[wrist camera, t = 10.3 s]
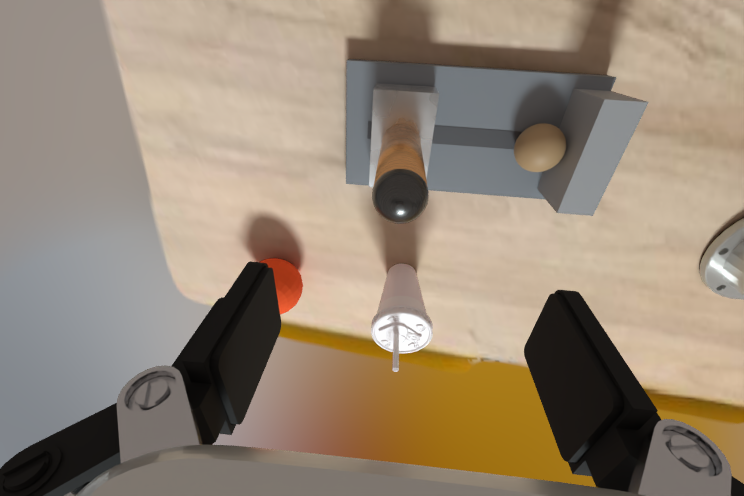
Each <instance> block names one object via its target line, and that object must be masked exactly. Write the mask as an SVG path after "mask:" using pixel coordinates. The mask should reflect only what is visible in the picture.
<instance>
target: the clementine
mask: <svg viewBox="0 0 744 496" xmlns="http://www.w3.org/2000/svg"><path fill="white" fill-rule="evenodd" d="M260 263H267V265H268V268H272V269H273V273H274V279H275V286H276V292H277V298H278V305H279V311H280V314H283V313H285V312H287V311H289V310H290V309H291V308H293V307H294V306H295V305H296V304H297V302H298V300H299V298H300V297H301V294H302V287H303V283H302V279H301V275H300V273H299V271H298V270H297V269H296V268H295V267H294V266H293V265H292V264H291V263H289V262H288V261H285V260H282V259H277V258H270V259H265V260H263V261H260Z"/></svg>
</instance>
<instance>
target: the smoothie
mask: <svg viewBox="0 0 744 496" xmlns="http://www.w3.org/2000/svg"><path fill="white" fill-rule="evenodd" d="M371 328H372V329H371V334H372V337H373V339H374V341H375V342H376V343H377V344H378V345H379V346H380V347H382V348H384V349H385V350H388V351H391V352H393V371H395V372H397V371H398V370H399V353H411V352H415V351H418V350H420V349H422V348H424V347H425V346H426V345H427V344H428V343H429V342H430V340H431V338H432V329H433V327H432V321H431V320H430V318H429V316H428V315H427V313H426V309H425V306H424V302H423V298H422V294H421V290H420V286H419V282H418V278H417V274H416V271H415V269H414V268H413V267H412V266H410V265H408V264H396V265H394V266H392V267H391V268H390V269H389V271H388V273H387V277H386V281H385V285H384V289H383V293H382V296H381V300H380V304H379V308H378V311H377V314H376V315H375V316H374V318H373V320H372V327H371Z"/></svg>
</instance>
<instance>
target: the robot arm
mask: <svg viewBox="0 0 744 496" xmlns="http://www.w3.org/2000/svg"><path fill="white" fill-rule="evenodd" d="M700 276H701V279H702V281H703V282H704V284H705V285H706V286H707V287H708V288H710V289H711V290H712V291H713V292H715V293H717V294H719V295H721V296H723V297H727V298H731V299H744V218H743V219H741V220H739V221H737V222H736V223H734V224H733V225H732V226H730V227H729V228H728V229H726V230H725V231H724V232H723V233H722V234H720V235H719V236H718V237H717V238H716V239H715V240H714V241H713V243H712V244H711V245H710V246H709V247H708V249H707V251H706V252H705V254H704V256H703V257H702V261H701V264H700ZM280 329H281V318H280V311H279V305H278V298H277V292H276V286H275V279H274V273H273V269H272V268H268V265H267V263H260V262H248V263H247V265H246V266H245V268H244V269H243V271H242V272H241V274H240V275H239V277H238V278H237V279H236V281H235V282H234V284H233V285H232V287H231V288H230V290H229V291H228V293H227V294H226V296H225V297H224V298H220V299H218V300H217V302H216V303H215V304H214V306H213V307H212V308H211V310H210V311H209V313H208V314H207V316H206V317H205V319H204V320H203V321H202V323H201V324H200V326H199V327H198V329H197V330H196V331H195V333H194V334H193V336H192V337H191V339H190V340H189V342H188V343H187V345H186V346H185V347H184V349H183V350H182V352H181V353H180V355H179V356H178V357H177V359H176V361H175V362H174V363H173V365H172V366H157V367H153V368H150V369H147V370H145V371H143V372H141V373H139V374H138V375H136V376H135V377H134V378H132V379H131V380H130V381H129V382H128V383H127V384H126V385H125V386H124V387H123V389H122V390H121V392H120V394H119V396H118V399H117V403H115V404H113V405H111V406H109V407H107V408H106V409H104V410H102V411H99V412H98V413H95V414H94V415H91V416H89V417H88V418H85V419H83V420H81V421H80V422H77V423H75V424H73V425H71V426H69V427H67V428H65V429H63V430H61V431H59V432H57V433H55V434H53V435H51V436H49V437H47V438H45V439H43V440H41V441H39V442H37V443H35V444H33V445H31V446H30V447H28V448H26V449H24V450H23V451H21V452H19V453H18V454H16V455H15V456H14V457H13V458H11V459H10V460H9V461H8V462H6V463H5V464H4V465H3V466H2V467H1V469H0V496H744V484H743V483H741V482H740V481H738V480H737V479H735V478H734V477H732V476H731V475H732V474H731V469H730V465H729V463H728V461H727V459H726V457H725V455H724V454H723V453H722V452H721V450H720V449H719V448H718V447H717V446H716V445H715V444H714V443H713V442H712V441H711V440H710V439H709V438H708V437H707V436H705V435H704V434H702V433H701V432H700V431H698V430H697V429H695V428H693V427H691V426H689V425H687V424H685V423H683V422H680V421H676V420H672V419H671V420H670V419H664V420H661V419H660V417H659V416H658V414H657V409H656V407H655V406H654V404H653V403H652V401H651V400H650V398H649V397H648V395H647V394H646V392H645V391H644V389H643V388H642V386H641V385H640V383H639V382H638V380H637V379H636V377H635V376H634V374H633V373H632V371H631V370H630V368H629V367H628V365H627V364H626V362H625V361H624V359H623V358H622V356H621V355H620V353H619V352H618V350H617V349H616V347H615V346H614V344H613V343H612V341H611V340H610V338H609V337H608V335H607V334H606V332H605V331H604V329H603V328H602V326H601V325H600V323H599V322H598V320H597V319H596V317H595V316H594V314H593V313H592V311H591V310H590V308H589V307H588V305H587V304H586V302H585V301H584V299H583V298H582V296H581V295H580V294H579V292H576V291H566V290H557V291H556V292H555V293H554V294H550V296H549V297H548V299H547V301H546V303H545V305H544V308H543V310H542V312H541V314H540V316H539V318H538V320H537V322H536V324H535V326H534V328H533V330H532V332H531V335H530V337H529V339H528V341H527V343H526V345H525V348H524V355H525V359H526V361H527V364H528V367H529V369H530V372H531V375H532V378H533V380H534V383H535V386H536V388H537V391H538V394H539V396H540V399H541V402H542V405H543V407H544V410H545V413H546V415H547V418H548V421H549V424H550V427H551V429H552V432H553V435H554V437H555V440H556V443H557V446H558V448H559V451H560V454H561V456H562V458H563V459H564V460H565V461H567V462H568V463H569V466H570V468H571V471H572V473H573V474H577V475H587V476H592V477H593V480H594V482H595V484H596V487H590V486H583V485H575V484H568V483H561V482H553V481H545V480H537V479H528V478H520V477H512V476H504V475H495V474H487V473H479V472H470V471H462V470H452V469H445V468H435V467H427V466H419V465H409V464H401V463H393V462H383V461H374V460H366V459H358V458H349V457H339V456H330V455H321V454H312V453H303V452H294V451H285V450H274V449H262V448H251V447H241V446H227V445H226V446H225V445H212V444H213V443H214V442H216V440H217V438H218V435H219V433H220V434H228V435H232V433H233V430H234V428H235V426H236V424H241V423H242V421H243V419H244V417H245V415H246V412H247V410H248V407H249V405H250V402H251V400H252V398H253V395H254V393H255V391H256V388H257V386H258V383H259V381H260V379H261V376H262V374H263V371H264V369H265V367H266V364H267V362H268V359H269V357H270V354H271V352H272V350H273V347H274V345H275V342H276V339H277V338H278V335H279V333H280Z"/></svg>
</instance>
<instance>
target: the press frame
mask: <svg viewBox="0 0 744 496" xmlns="http://www.w3.org/2000/svg"><path fill="white" fill-rule="evenodd" d="M615 80H616V77H612V76H608V75H595V74H579V73H563V72H547V71H531V70H515V69H500V68H484V67H468V66H452V65H436V64H420V63H405V62H389V61H373V60H357V59H348V60H347V101H346V184H356V185H369V174H370V153H371V131H372V110H373V89H374V87H375V85H376V83H384V84H399V85H414V86H429V87H436V88H437V90H438V92H439V99H438V106H437V112H436V119H435V126H434V132H433V139H432V145H431V152H430V158H429V165H428V172H427V178H426V180H427V186H428V190H433V191H446V192H459V193H472V194H485V195H497V196H510V197H523V198H536V199H546V200H547V201H548V203H549V204H550V205H551V206H552V207H553V209H554V210H555V211H556V212H557V213H565V214H578V215H590V216H593V214H594V212H595V210H596V208H597V206H598V204H599V202H600V200H601V198H602V196H603V194H604V192H605V190H606V188H607V186H608V184H609V182H610V180H611V178H612V176H613V174H614V172H615V170H616V167H617V165H618V163H619V161H620V159H621V157H622V155H623V153H624V151H625V149H626V147H627V145H628V143H629V141H630V139H631V137H632V135H633V133H634V131H635V129H636V127H637V125H638V123H639V121H640V119H641V117H642V115H643V113H644V111H645V109H646V106H647V104H648V102H646V101H643V100H639V99H636V98H632V97H629V96H626V95H622V94H619V93H616V92H612V91H611V89H612V87H613V84H614V82H615Z"/></svg>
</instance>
